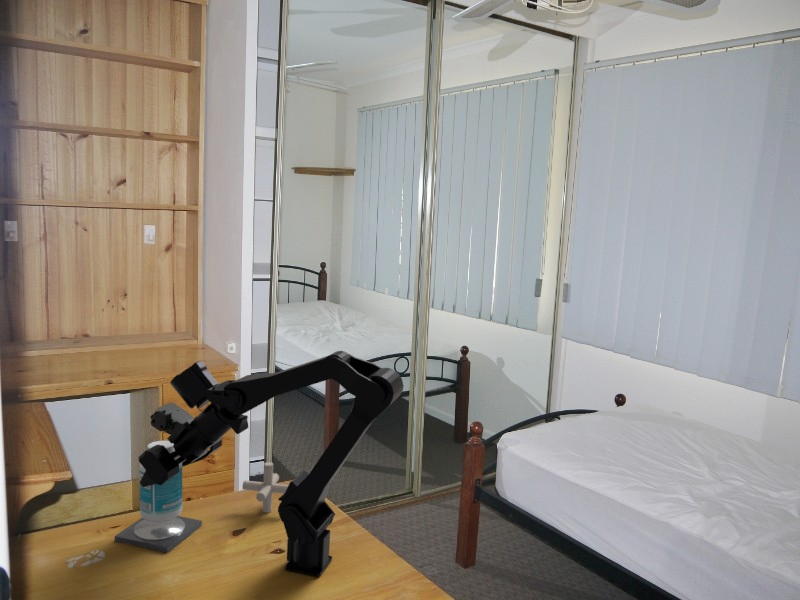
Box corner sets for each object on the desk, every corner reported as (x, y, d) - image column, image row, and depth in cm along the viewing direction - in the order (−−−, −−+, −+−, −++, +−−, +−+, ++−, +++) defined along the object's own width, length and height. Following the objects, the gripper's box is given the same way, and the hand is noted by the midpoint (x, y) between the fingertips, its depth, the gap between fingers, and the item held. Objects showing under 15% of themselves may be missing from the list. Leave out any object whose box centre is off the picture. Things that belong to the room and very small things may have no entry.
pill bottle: (187, 506, 128) (187, 438, 126) (175, 524, 120) (175, 452, 118) (147, 504, 127) (147, 436, 126) (133, 523, 120) (133, 451, 118)
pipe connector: (297, 502, 141) (299, 457, 139) (284, 524, 131) (286, 475, 129) (250, 497, 142) (252, 452, 140) (234, 519, 132) (236, 470, 130)
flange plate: (201, 525, 128) (202, 519, 128) (167, 553, 118) (167, 546, 118) (152, 515, 131) (152, 509, 131) (114, 541, 120) (114, 535, 120)
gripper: (208, 380, 129) (158, 427, 133) (148, 406, 111) (92, 460, 115) (244, 425, 128) (193, 471, 132) (189, 458, 110) (132, 511, 114)
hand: (154, 476), depth 123 cm, fingers closed on pill bottle, 7 cm apart
